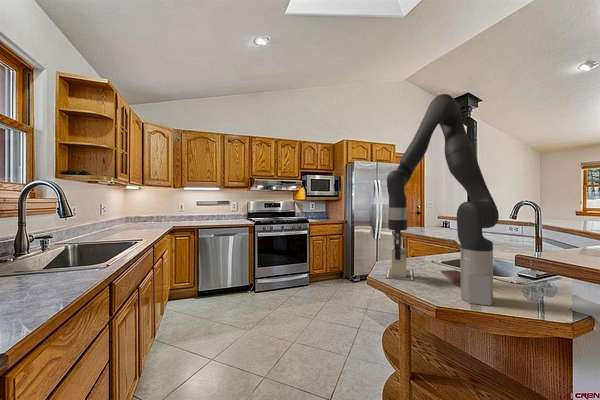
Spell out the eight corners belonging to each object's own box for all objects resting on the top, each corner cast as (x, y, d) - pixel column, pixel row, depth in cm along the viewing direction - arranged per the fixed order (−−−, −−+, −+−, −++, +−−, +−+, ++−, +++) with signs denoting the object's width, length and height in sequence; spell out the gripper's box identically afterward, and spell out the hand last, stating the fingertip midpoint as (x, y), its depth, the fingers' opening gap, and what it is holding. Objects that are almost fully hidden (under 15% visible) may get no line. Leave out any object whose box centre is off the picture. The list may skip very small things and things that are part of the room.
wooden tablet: (437, 268, 131) (460, 266, 129) (438, 272, 131) (460, 271, 129) (459, 286, 105) (488, 284, 103) (460, 292, 105) (489, 290, 103)
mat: (413, 280, 114) (413, 279, 114) (385, 278, 118) (385, 277, 118) (412, 271, 129) (412, 270, 129) (387, 269, 133) (387, 268, 133)
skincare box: (391, 276, 119) (390, 248, 119) (391, 274, 123) (390, 246, 123) (406, 277, 117) (406, 249, 117) (406, 275, 121) (406, 247, 121)
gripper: (407, 219, 108) (407, 263, 108) (406, 217, 120) (406, 256, 120) (387, 219, 110) (387, 262, 111) (388, 217, 123) (389, 255, 123)
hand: (397, 259), depth 116 cm, fingers closed
